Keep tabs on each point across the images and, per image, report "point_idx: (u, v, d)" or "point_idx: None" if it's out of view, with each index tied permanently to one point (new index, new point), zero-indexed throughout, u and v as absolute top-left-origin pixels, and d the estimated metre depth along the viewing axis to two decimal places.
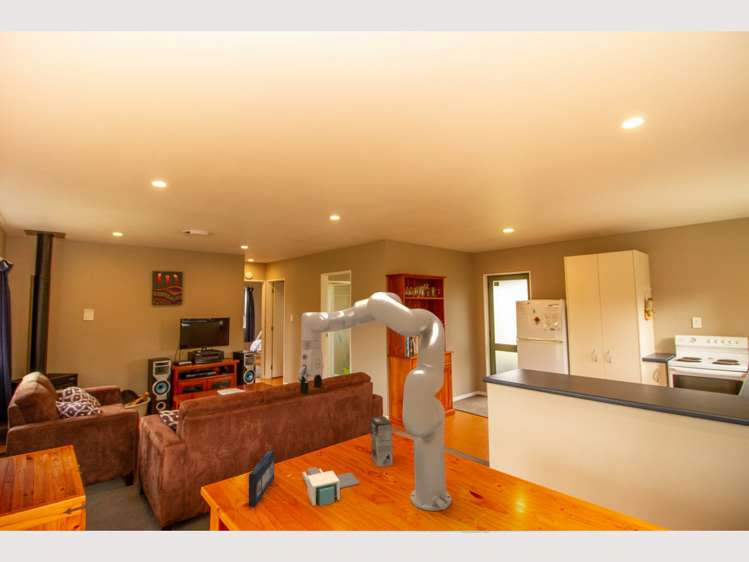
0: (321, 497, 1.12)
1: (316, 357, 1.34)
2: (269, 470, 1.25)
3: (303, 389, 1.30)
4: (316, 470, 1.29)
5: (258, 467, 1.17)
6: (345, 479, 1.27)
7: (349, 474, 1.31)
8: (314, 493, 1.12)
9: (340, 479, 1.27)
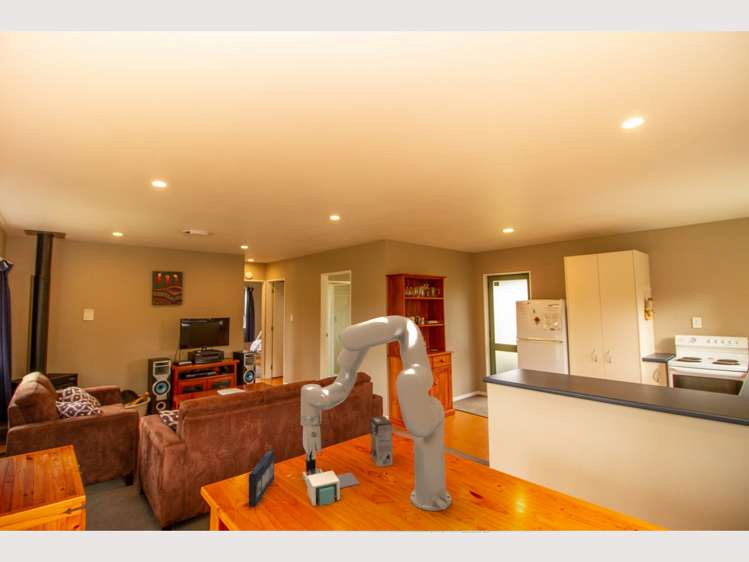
0: (321, 497, 1.12)
1: None
2: (269, 470, 1.25)
3: (312, 467, 1.30)
4: (317, 471, 1.27)
5: (258, 467, 1.17)
6: (345, 479, 1.27)
7: (349, 474, 1.31)
8: (314, 493, 1.12)
9: (340, 479, 1.27)
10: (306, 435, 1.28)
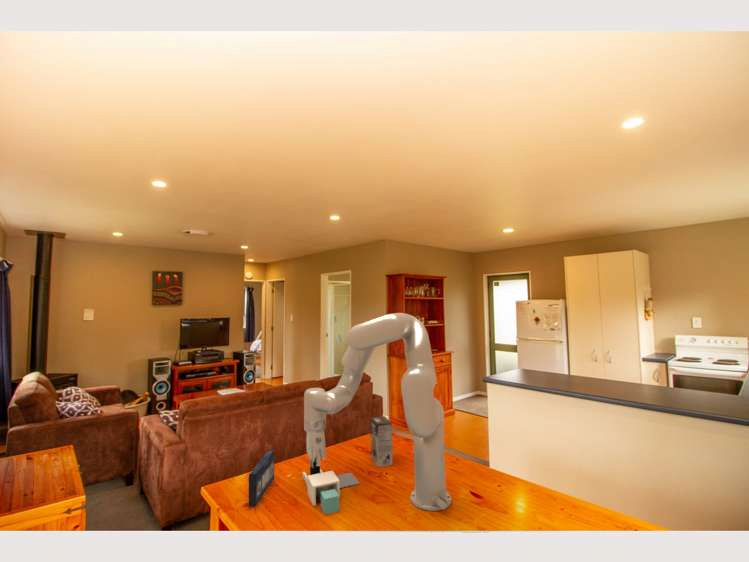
0: (325, 505, 1.07)
1: None
2: (269, 470, 1.25)
3: None
4: None
5: (258, 467, 1.17)
6: (345, 479, 1.27)
7: (349, 474, 1.31)
8: (314, 493, 1.12)
9: (340, 479, 1.27)
10: (310, 441, 1.23)
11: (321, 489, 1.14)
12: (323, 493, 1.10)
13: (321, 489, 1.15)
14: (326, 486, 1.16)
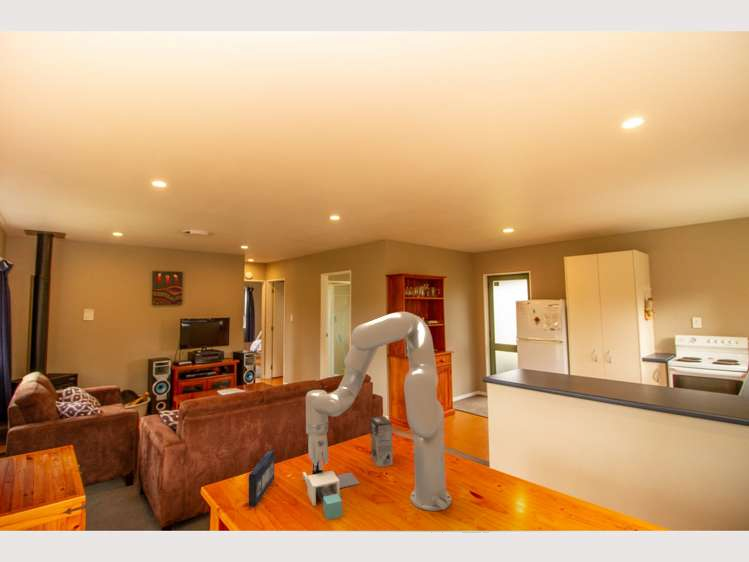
0: (328, 511, 1.04)
1: None
2: (269, 470, 1.25)
3: None
4: None
5: (258, 467, 1.17)
6: (345, 479, 1.27)
7: (349, 474, 1.31)
8: (314, 493, 1.12)
9: (340, 479, 1.27)
10: (312, 444, 1.21)
11: (324, 494, 1.12)
12: (325, 498, 1.07)
13: (324, 494, 1.12)
14: (329, 491, 1.14)
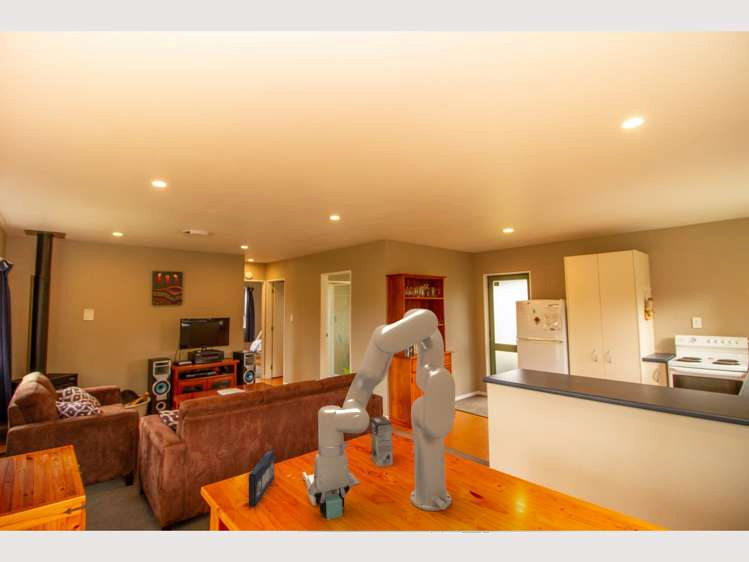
0: (328, 510, 1.04)
1: None
2: (269, 470, 1.25)
3: None
4: None
5: (258, 467, 1.17)
6: None
7: (349, 474, 1.31)
8: None
9: None
10: (343, 465, 1.07)
11: None
12: (326, 497, 1.07)
13: None
14: (329, 491, 1.14)
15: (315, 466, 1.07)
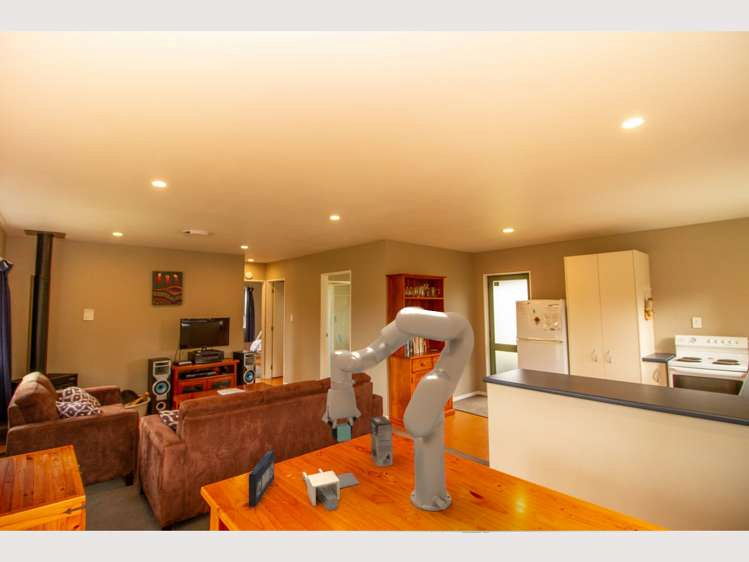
0: (339, 434, 1.24)
1: None
2: (269, 470, 1.25)
3: None
4: None
5: (258, 467, 1.17)
6: (345, 479, 1.27)
7: (349, 474, 1.31)
8: (314, 493, 1.12)
9: (340, 479, 1.27)
10: (351, 398, 1.28)
11: (325, 494, 1.12)
12: (337, 425, 1.28)
13: (325, 494, 1.12)
14: (329, 491, 1.14)
15: (328, 398, 1.27)
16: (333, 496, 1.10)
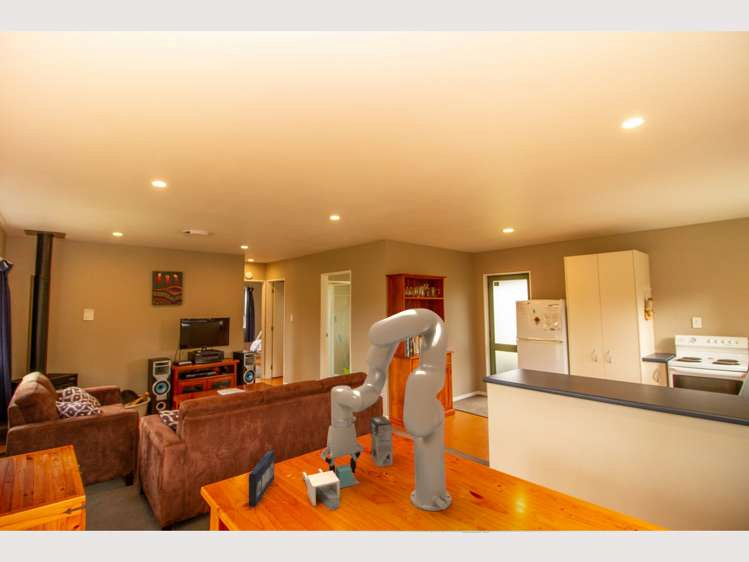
0: (340, 477, 1.23)
1: None
2: (269, 470, 1.25)
3: None
4: None
5: (258, 467, 1.17)
6: None
7: None
8: (314, 493, 1.12)
9: None
10: (352, 435, 1.27)
11: (326, 494, 1.12)
12: (337, 467, 1.27)
13: (326, 493, 1.12)
14: (330, 490, 1.14)
15: (328, 436, 1.26)
16: (335, 495, 1.11)
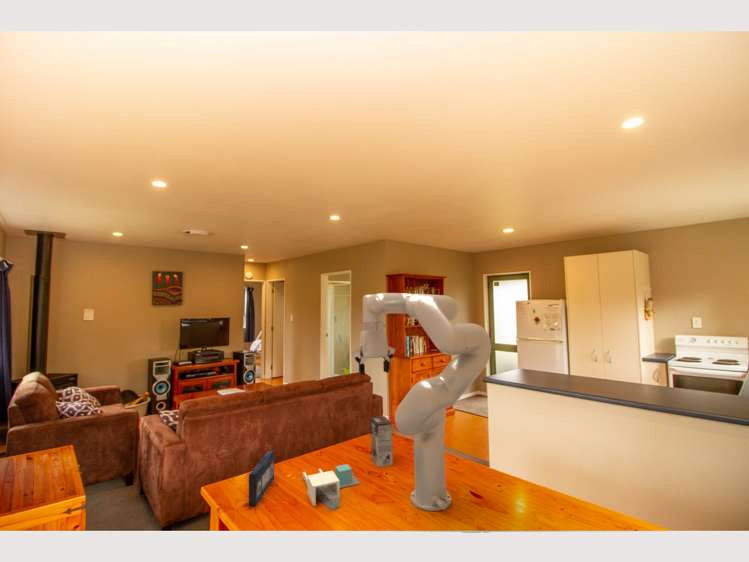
0: (340, 477, 1.23)
1: None
2: (269, 470, 1.25)
3: None
4: None
5: (258, 467, 1.17)
6: None
7: None
8: (314, 493, 1.12)
9: None
10: (383, 339, 1.34)
11: (326, 494, 1.12)
12: (337, 467, 1.27)
13: (326, 493, 1.12)
14: (330, 490, 1.14)
15: (361, 339, 1.34)
16: (335, 495, 1.11)
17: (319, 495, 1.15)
